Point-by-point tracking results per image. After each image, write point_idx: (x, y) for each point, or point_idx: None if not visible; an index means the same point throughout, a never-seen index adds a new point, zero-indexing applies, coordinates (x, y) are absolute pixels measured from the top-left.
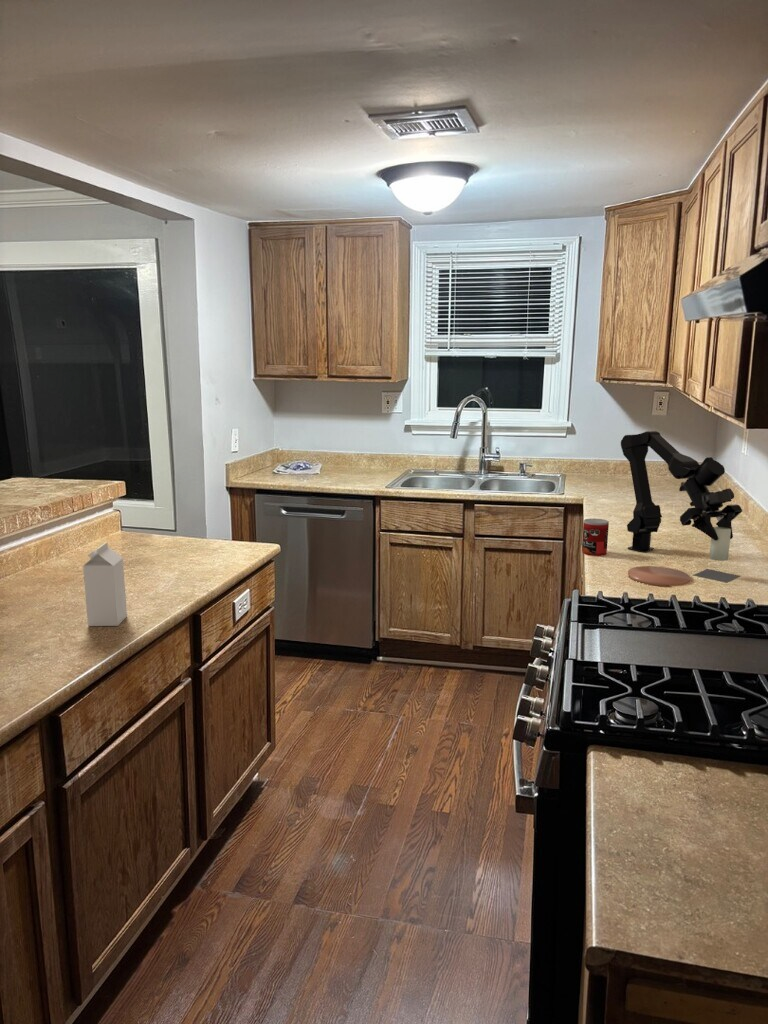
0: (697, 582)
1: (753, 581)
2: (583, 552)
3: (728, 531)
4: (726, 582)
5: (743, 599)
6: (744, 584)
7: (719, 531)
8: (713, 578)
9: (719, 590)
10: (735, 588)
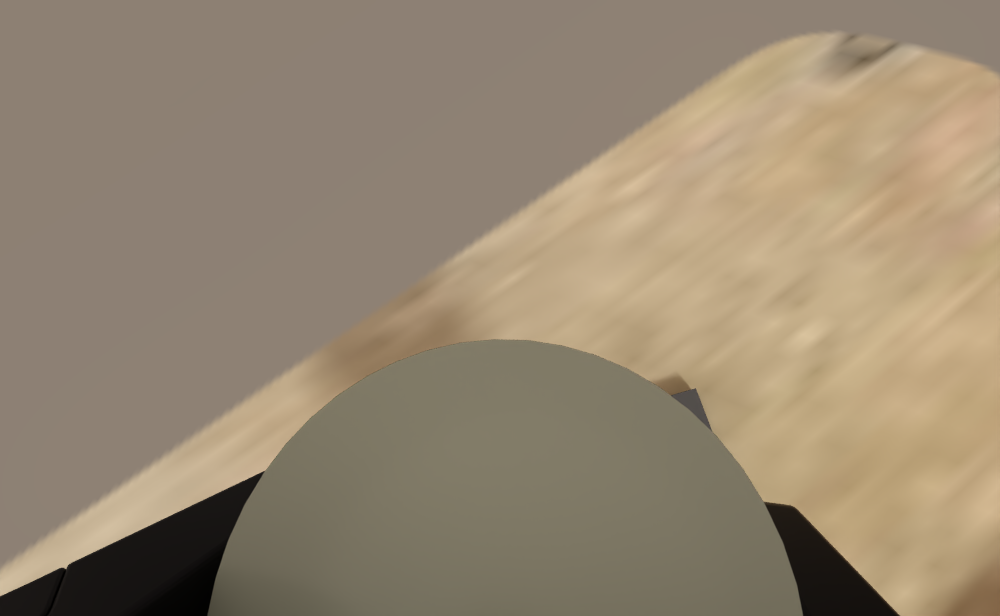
0: (955, 572)
1: (397, 347)
2: None
3: (522, 347)
4: (694, 393)
5: (902, 67)
6: (547, 320)
7: (750, 491)
8: None
9: (922, 288)
10: (725, 273)
